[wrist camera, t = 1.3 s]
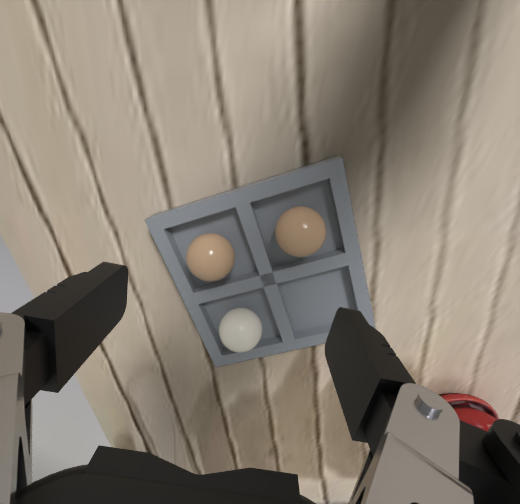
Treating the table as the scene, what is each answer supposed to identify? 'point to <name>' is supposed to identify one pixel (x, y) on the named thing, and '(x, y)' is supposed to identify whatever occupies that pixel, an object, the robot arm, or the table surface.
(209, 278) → the brown egg
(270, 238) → the egg tray
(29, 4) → the table surface
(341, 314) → the robot arm
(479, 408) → the plant pot
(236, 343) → the pale egg
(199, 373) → the table surface
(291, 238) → the brown egg
